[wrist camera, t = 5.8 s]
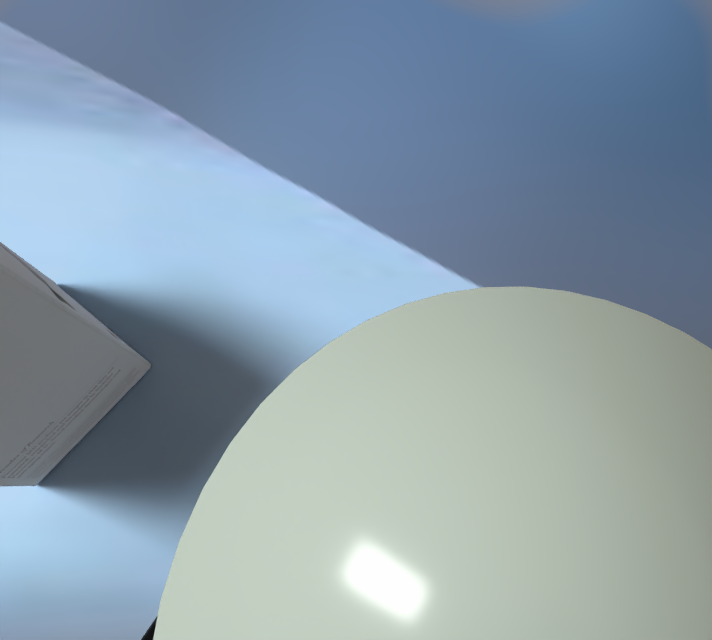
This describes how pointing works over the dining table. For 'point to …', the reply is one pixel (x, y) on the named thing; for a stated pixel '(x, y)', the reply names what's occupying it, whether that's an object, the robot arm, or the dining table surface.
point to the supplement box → (52, 372)
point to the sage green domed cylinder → (465, 484)
